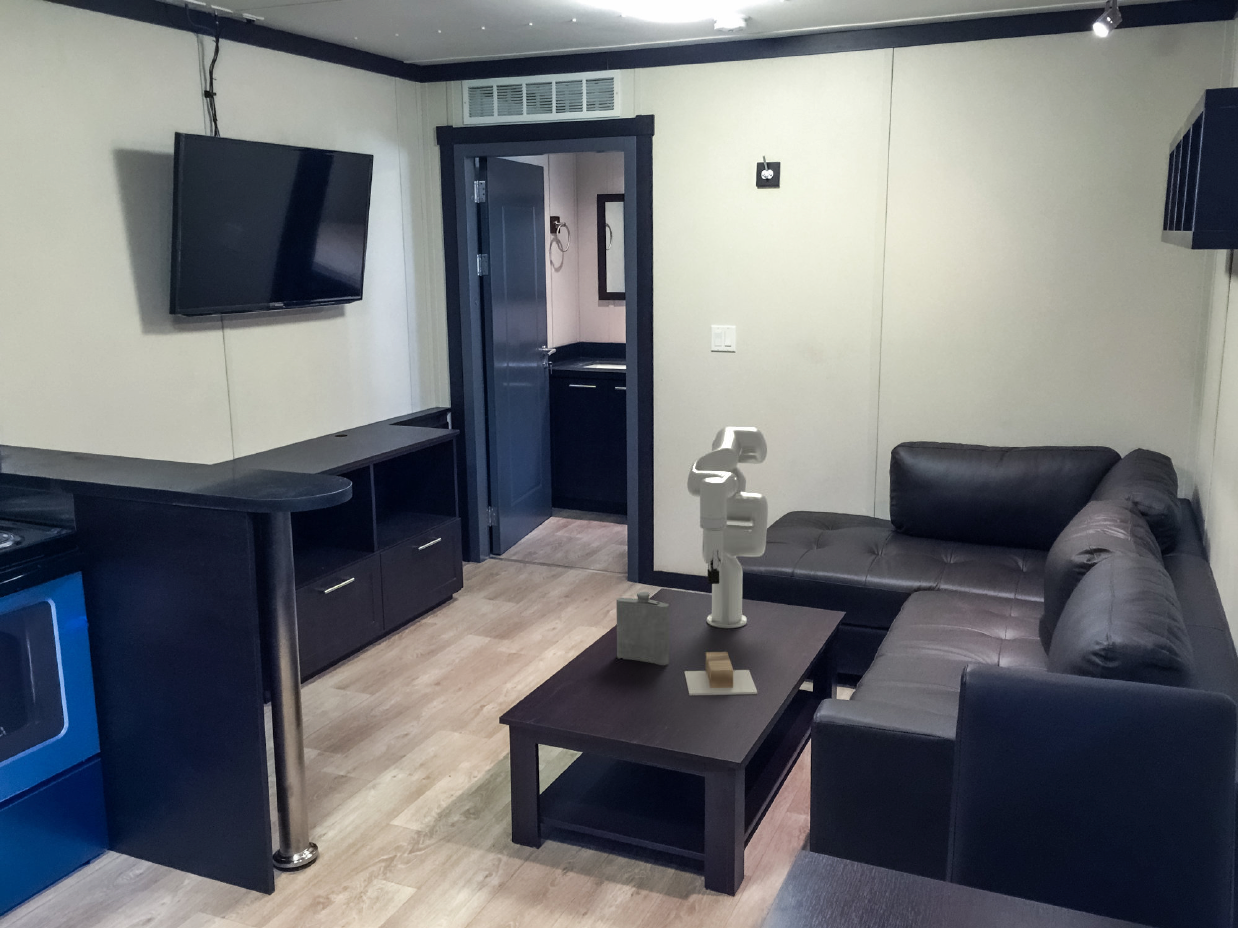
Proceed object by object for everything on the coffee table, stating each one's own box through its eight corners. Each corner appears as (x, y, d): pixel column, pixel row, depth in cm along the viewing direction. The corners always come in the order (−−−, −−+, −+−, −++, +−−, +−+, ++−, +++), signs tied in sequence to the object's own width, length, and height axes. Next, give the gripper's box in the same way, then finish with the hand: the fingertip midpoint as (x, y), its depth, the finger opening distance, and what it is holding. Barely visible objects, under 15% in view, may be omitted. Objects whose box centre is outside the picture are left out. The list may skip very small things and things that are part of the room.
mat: (684, 673, 294) (684, 671, 294) (748, 671, 295) (748, 669, 295) (689, 695, 280) (689, 693, 279) (757, 693, 280) (757, 691, 280)
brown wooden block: (705, 652, 294) (710, 670, 282) (727, 651, 295) (733, 669, 282) (705, 669, 295) (710, 687, 283) (726, 668, 296) (733, 687, 283)
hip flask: (615, 657, 306) (614, 591, 302) (621, 652, 310) (620, 587, 306) (666, 665, 300) (666, 598, 296) (671, 660, 303) (671, 594, 299)
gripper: (697, 514, 305) (697, 574, 309) (702, 529, 290) (703, 592, 294) (723, 513, 305) (723, 573, 309) (730, 529, 290) (729, 591, 295)
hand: (713, 582), depth 302 cm, fingers closed
